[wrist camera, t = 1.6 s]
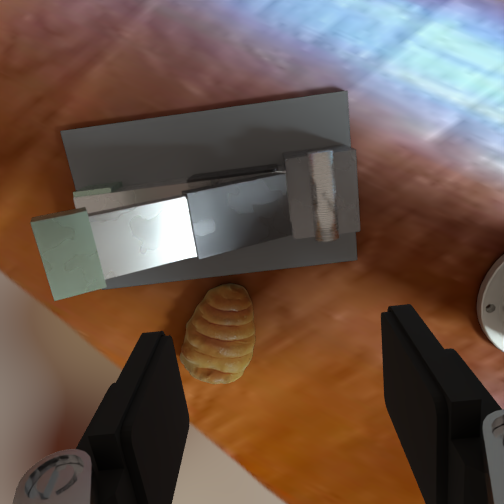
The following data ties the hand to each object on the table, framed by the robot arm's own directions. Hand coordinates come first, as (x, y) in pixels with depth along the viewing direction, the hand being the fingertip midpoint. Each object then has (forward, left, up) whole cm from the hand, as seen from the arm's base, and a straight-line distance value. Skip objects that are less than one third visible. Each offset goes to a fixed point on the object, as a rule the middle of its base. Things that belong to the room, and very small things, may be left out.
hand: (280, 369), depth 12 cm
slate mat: (+5, 0, -27) cm, 27 cm away
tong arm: (+7, 0, -18) cm, 19 cm away
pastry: (+6, +13, -27) cm, 31 cm away
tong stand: (+4, 0, -26) cm, 26 cm away
